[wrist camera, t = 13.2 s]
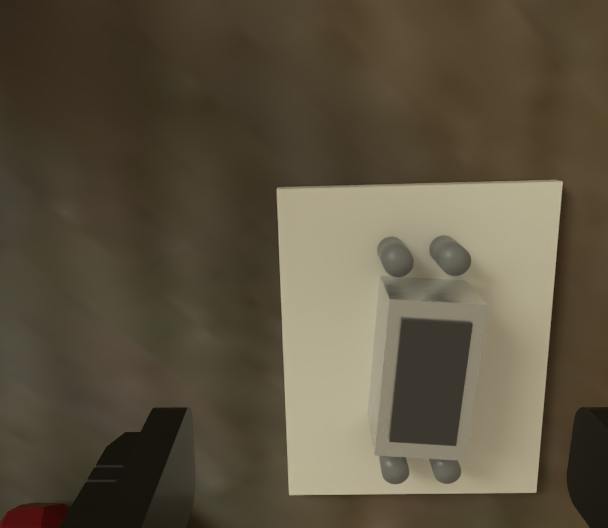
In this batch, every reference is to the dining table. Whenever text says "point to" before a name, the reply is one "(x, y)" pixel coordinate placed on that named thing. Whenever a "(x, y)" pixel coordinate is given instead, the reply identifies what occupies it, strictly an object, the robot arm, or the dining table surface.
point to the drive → (425, 367)
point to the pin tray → (362, 319)
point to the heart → (35, 516)
